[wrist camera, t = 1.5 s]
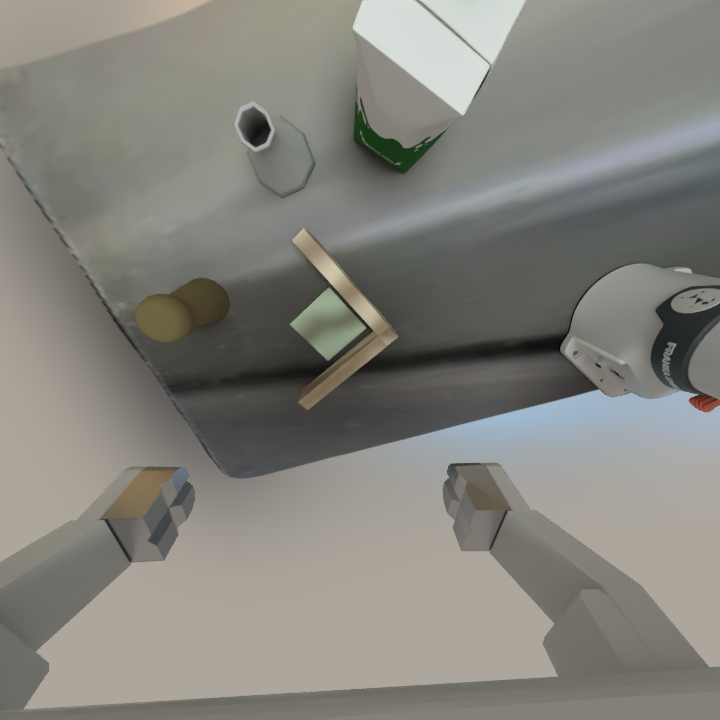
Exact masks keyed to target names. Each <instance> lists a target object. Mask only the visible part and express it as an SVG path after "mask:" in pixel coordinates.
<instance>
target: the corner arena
mask: <svg viewBox="0 0 720 720" xmlns="http://www.w3.org/2000/svg"><path fill="white" fill-rule="evenodd" d="M292 242H293V243H294V244H295V245H296V246H297V247H298V248H299V249H300V250H301V251H302V253H303V254H304V255H305V256H306V257H307V258H308V259H309V260H310V261H311V262H312V264H313V265H314V266H315V267H316V268H317V269H318V270H319V271H320V272H321V273H322V275H323V276H324V277H325V278H326V279H327V280H328V281H329V282H330V283H331V285H332V286H333V287H334V288H335V289H336V290H337V291H338V292H339V293H340V294H341V296H342V297H343V298H344V299H345V300H346V301H347V302H348V303H349V304H350V305H351V307H352V308H353V309H354V310H355V311H356V312H357V313H358V314H359V315H360V316H361V318H362V319H363V320H364V321H365V322H366V323H367V324H368V325H369V326H370V327H371V329H372V330H373V331H372V332H371V333H370V334H368V335H367V336H366V337H365V338H364V339H362V340H361V341H360V342H359V343H358V344H356V345H355V346H354V347H353V348H352V349H350V350H349V351H348V352H347V353H346V354H345V355H343V356H342V357H341V358H340V359H339V360H337V361H336V362H335V363H334V364H333V365H331V366H330V367H329V368H328V369H327V370H325V371H324V372H323V373H322V374H321V375H320V376H318V377H317V378H316V379H315V380H314V381H312V382H311V383H310V384H309V385H308V386H306V387H305V388H304V389H303V390H302V391H301V395H300V398H299V401H298V403H300V404H301V405H302V406H303V407H304V408H305V409H307V410H309V409H310V408H311V407H312V406H313V405H315V404H316V403H317V402H318V401H320V400H321V399H322V398H323V397H325V396H326V395H327V394H328V393H330V392H331V391H332V390H333V389H335V388H336V387H337V386H338V385H340V384H341V383H342V382H343V381H344V380H346V379H347V378H348V377H349V376H351V375H352V374H353V373H354V372H356V371H357V370H358V369H359V368H361V367H362V366H363V365H364V364H366V363H367V362H368V361H369V360H371V359H372V358H373V357H374V356H375V355H377V354H378V353H379V352H380V351H382V350H383V349H384V348H385V347H387V346H388V345H389V344H390V343H392V342H393V341H394V340H395V339H397V338H398V335H397V333H396V331H395V329H394V328H393V327H392V326H391V325H390V323H389V322H388V321H387V320H386V319H385V318H384V316H383V315H382V314H381V313H380V312H379V311H378V310H377V308H376V307H375V306H374V305H373V304H372V303H371V301H370V300H369V299H368V298H367V297H366V296H365V295H364V293H363V292H362V291H361V290H360V289H359V288H358V286H357V285H356V284H355V283H354V282H353V281H352V280H351V278H350V277H349V276H348V275H347V274H346V273H345V271H344V270H343V269H342V268H341V267H340V266H339V265H338V263H337V262H336V261H335V260H334V259H333V258H332V256H331V255H330V254H329V253H328V252H327V251H326V250H325V248H324V247H323V246H322V245H321V244H320V243H319V241H318V240H317V239H316V238H315V237H314V236H313V235H312V233H311V232H310V231H309V230H308V229H305V228H303V229H302V230H301V231H300V232H299V233H298V235H297V236H296V237H295V238H294V239H293V240H292ZM290 325H291V326H292V327H293V328H294V329H295V330H296V331H297V332H298V333H299V334H300V335H301V336H302V337H303V338H304V339H305V340H307V341H308V342H309V343H310V344H311V345H312V346H313V347H314V348H315V349H316V350H317V351H318V352H319V353H320V354H321V355H322V356H323V357H324V358H325V359H326V360H327V361H328V360H330V359H331V358H332V357H333V356H334V355H336V354H337V353H338V352H339V351H340V350H341V349H343V348H344V347H345V346H346V345H347V344H348V343H350V342H351V341H352V340H353V339H354V338H356V337H357V336H358V335H359V334H360V333H361V332H363V331H364V330H365V329H366V327H365V326H364V324H363V323H362V322H361V321H360V320H359V319H358V318H357V317H356V316H355V315H354V314H353V312H352V311H351V310H350V309H349V308H348V307H347V306H346V305H345V304H344V303H343V302H342V300H341V299H340V298H339V297H338V296H337V295H336V294H335V293H334V292H333V291H332V290H331V288H330V287H329V288H327V289H326V290H325V291H324V292H323V293H322V294H321V295H320V296H319V297H318V298H317V299H316V300H315V301H314V302H313V303H312V304H311V305H309V306H308V307H307V308H306V309H305V310H304V311H303V312H302V313H301V314H300V315H299V316H298V317H297V318H296V319H295V320H294V321H293V322H291V323H290Z"/></svg>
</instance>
